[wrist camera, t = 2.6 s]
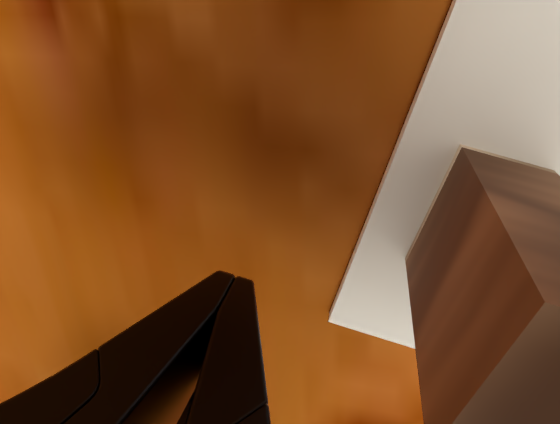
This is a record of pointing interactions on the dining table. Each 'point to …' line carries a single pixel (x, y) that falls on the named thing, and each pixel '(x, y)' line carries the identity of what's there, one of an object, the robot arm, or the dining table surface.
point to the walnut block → (488, 293)
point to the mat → (455, 142)
